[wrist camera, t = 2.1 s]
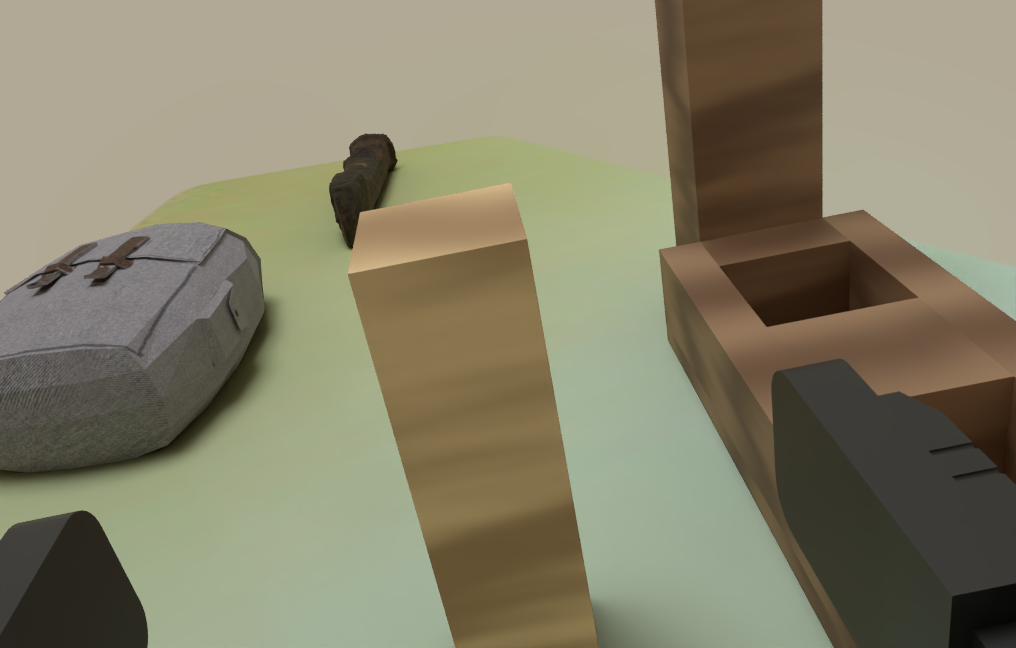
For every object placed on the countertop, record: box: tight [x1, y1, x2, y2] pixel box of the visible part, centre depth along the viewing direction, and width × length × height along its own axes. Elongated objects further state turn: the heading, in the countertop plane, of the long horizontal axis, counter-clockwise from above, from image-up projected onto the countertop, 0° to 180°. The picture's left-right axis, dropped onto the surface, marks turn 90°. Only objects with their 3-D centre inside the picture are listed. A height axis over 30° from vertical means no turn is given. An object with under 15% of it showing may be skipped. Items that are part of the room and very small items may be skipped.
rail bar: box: [348, 183, 599, 648], centre depth 24 cm, size 4×4×15 cm
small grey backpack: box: [0, 222, 265, 473], centre depth 49 cm, size 15×8×20 cm
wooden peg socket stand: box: [655, 0, 1016, 648], centre depth 29 cm, size 29×10×24 cm, turn 5°
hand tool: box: [329, 134, 397, 246], centre depth 70 cm, size 19×4×5 cm, turn 0°
